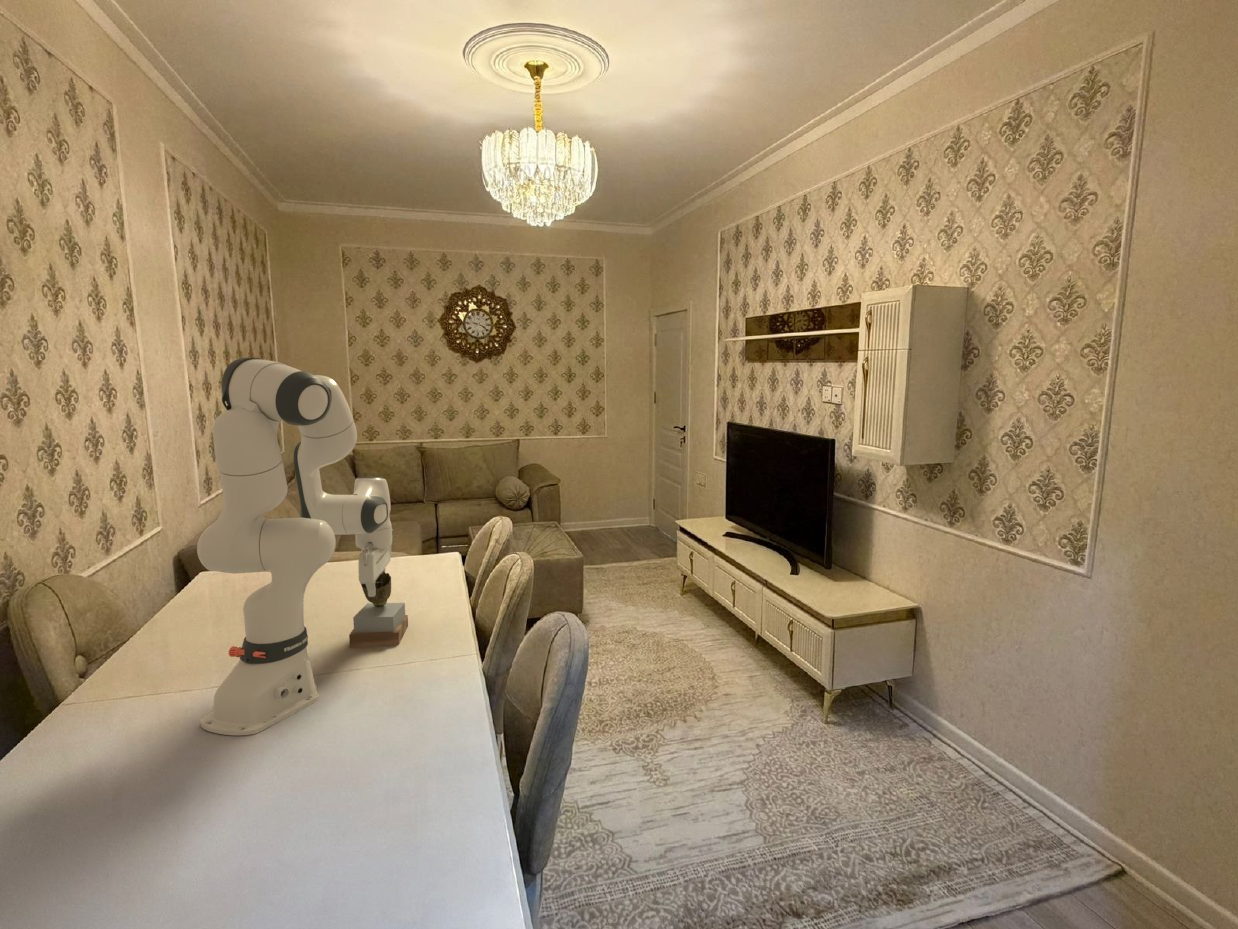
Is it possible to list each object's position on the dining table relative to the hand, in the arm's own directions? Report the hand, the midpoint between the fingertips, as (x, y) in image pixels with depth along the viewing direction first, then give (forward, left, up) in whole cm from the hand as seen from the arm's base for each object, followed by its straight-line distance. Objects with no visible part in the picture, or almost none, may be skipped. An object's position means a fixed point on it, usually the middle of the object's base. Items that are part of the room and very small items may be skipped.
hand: (376, 589), depth 165 cm
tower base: (0, 0, -14) cm, 14 cm away
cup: (+3, +1, -5) cm, 6 cm away
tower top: (0, 0, -10) cm, 10 cm away
